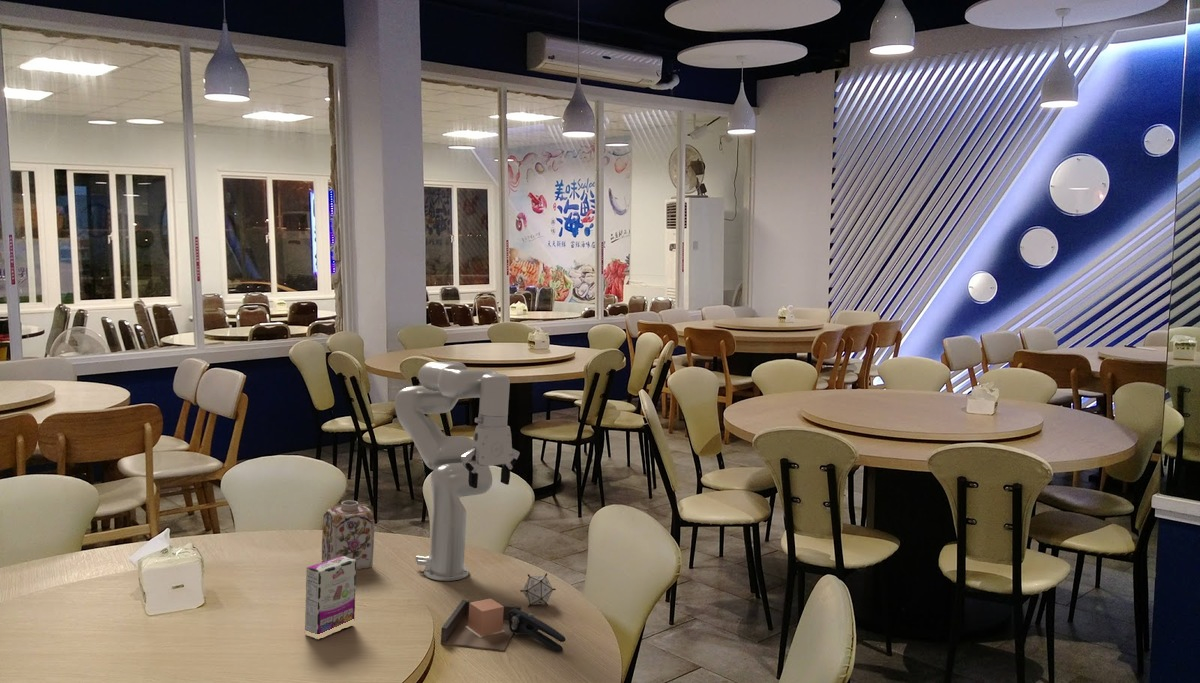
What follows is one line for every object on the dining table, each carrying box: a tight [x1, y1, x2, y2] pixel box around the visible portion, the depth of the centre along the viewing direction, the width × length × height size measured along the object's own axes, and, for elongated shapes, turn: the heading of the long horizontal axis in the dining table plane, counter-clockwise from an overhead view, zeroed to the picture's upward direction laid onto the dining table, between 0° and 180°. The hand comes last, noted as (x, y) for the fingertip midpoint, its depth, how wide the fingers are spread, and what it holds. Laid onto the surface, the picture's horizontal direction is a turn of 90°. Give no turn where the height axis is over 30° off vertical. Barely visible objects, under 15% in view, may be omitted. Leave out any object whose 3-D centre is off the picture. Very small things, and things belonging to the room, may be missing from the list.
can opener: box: [508, 608, 566, 652], centre depth 212 cm, size 18×7×6 cm, turn 48°
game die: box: [519, 572, 557, 608], centre depth 234 cm, size 9×8×10 cm
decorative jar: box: [321, 500, 375, 570], centre depth 254 cm, size 12×12×18 cm
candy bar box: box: [304, 556, 357, 634], centre depth 209 cm, size 11×5×16 cm, turn 148°
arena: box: [440, 599, 522, 652], centre depth 214 cm, size 15×18×4 cm
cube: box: [468, 598, 504, 636], centre depth 215 cm, size 6×6×6 cm
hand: (489, 485), depth 234 cm, fingers open, 9 cm apart
